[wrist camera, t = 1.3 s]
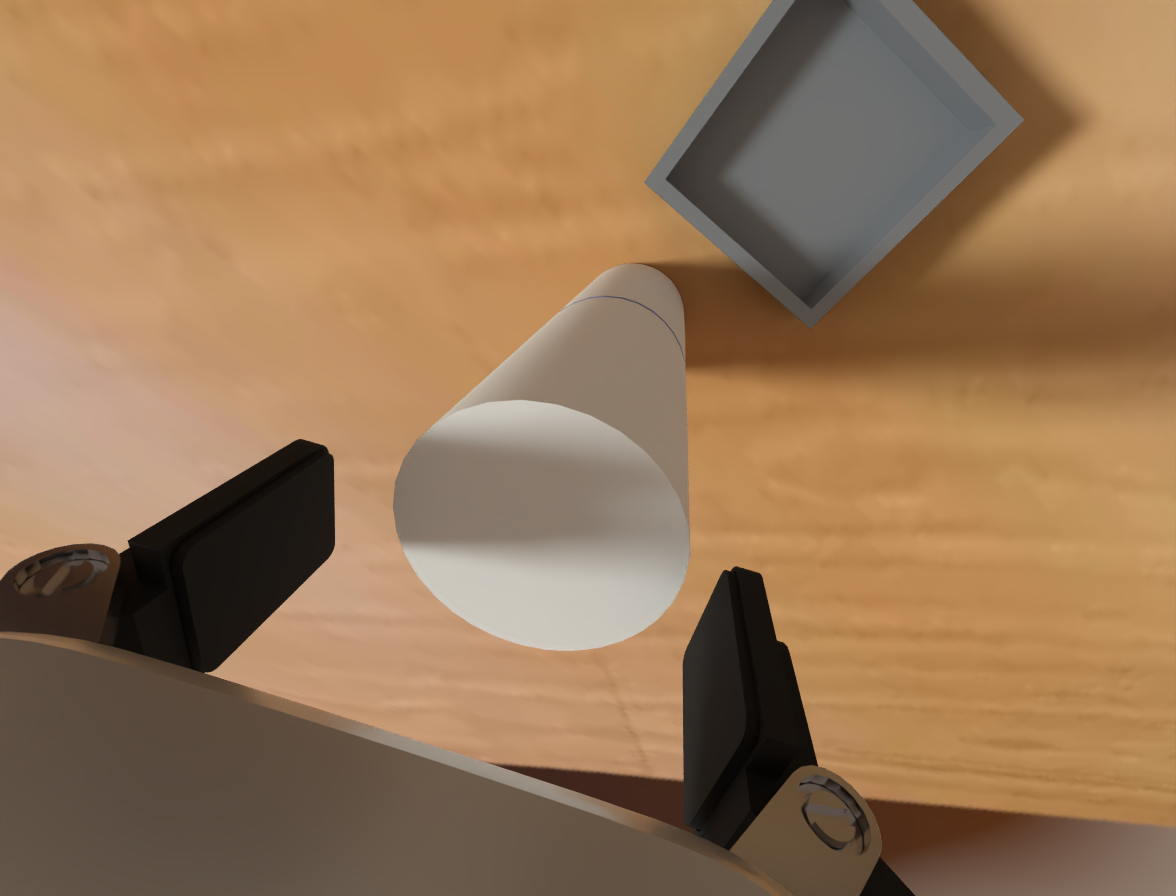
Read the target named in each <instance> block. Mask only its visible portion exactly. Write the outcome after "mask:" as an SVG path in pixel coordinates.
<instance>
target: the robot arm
mask: <svg viewBox="0 0 1176 896" xmlns="http://www.w3.org/2000/svg"><path fill="white" fill-rule="evenodd" d="M128 543H129V547H130V548H128V549H127V550H125V551H123V552H122V553H120V554H118V553H117V551H116V550H115V549H113V548H110V547H108V546H105V545H99V544H91V543H89V544H73V545H67V546H62V547H57V548H53V549H50V550H47V551H44V552H41V553H38V554H36V555H34V556H32V557H29V558H27V559H25V560H23V561H21V562H20V563H18V564H17V565H16V566H14V567H13V568H11V569H10V570H9V571H8V572H7V573H6V574H5V575H4V577H3V578H2V579H1V580H0V896H915V895H914V894H913V893H912V892H911V891H910V889H909V888H908V887H907V886H906V885H905V884H904V883H903V882H902V881H901V880H900V878H899V877H898V876H897V875H896V874H895V873H894V872H893V871H892V870H891V869H890V868H889V866H888V865H887V864H886V863H885V862H884V861H883V860H882V859H881V858H880V857H879V855H880V851H881V847H882V845H881V837H880V830H879V828H878V825H877V823H876V820H875V817H874V815H873V813H872V812H871V810H870V809H869V807H868V805H867V804H866V802H865V801H864V799H863V798H862V797H861V796H860V795H859V793H858V792H857V791H856V790H855V789H854V788H853V787H852V786H851V785H850V784H849V783H848V782H846V781H845V780H844V779H843V778H841V777H840V776H839V775H837V774H835V773H833V772H831V771H829V770H827V769H826V768H822V767H818V764H817V760H816V756H815V752H814V748H813V744H812V740H811V736H810V732H809V728H808V724H807V720H806V716H805V712H804V708H803V704H802V700H801V696H800V692H799V688H798V684H797V680H796V676H795V672H794V668H793V664H792V660H791V656H790V653H789V650H788V647H787V646H786V645H785V644H784V643H783V642H780V641H777V639H776V635H775V630H774V626H773V622H772V617H771V613H770V608H769V604H768V600H767V595H766V591H765V587H764V582H763V578H762V575H761V574H760V573H757V572H754V571H750V570H747V569H744V568H740V567H737V566H736V567H734V568H733V569H732V570H731V571H727V570H724V571H723V572H722V574H721V576H720V578H719V580H718V582H717V585H716V587H715V589H714V591H713V593H712V595H711V597H710V600H709V602H708V604H707V606H706V608H705V610H704V612H703V614H702V617H701V619H700V621H699V623H698V625H697V627H696V629H695V632H694V634H693V636H692V638H691V640H690V642H689V644H688V646H687V649H686V651H685V655H684V659H683V753H684V820H685V824H686V825H687V826H689V827H692V828H693V834H691V833H689V832H686V831H684V830H682V829H679V828H677V827H674V826H672V825H669V824H667V823H664V822H661V821H658V820H656V819H653V818H650V817H647V816H644V815H641V814H638V813H635V812H632V811H630V810H627V809H624V808H621V807H618V806H615V805H612V804H609V803H606V802H604V801H601V800H598V799H595V798H592V797H589V796H586V795H583V794H580V793H577V792H574V791H571V790H568V789H565V788H562V787H559V786H556V785H553V784H550V783H547V782H544V781H541V780H537V779H534V778H531V777H528V776H525V775H522V774H519V773H516V772H513V771H510V770H507V769H503V768H501V767H498V766H494V765H491V764H488V763H485V762H482V761H479V760H476V759H473V758H470V757H467V756H464V755H461V754H458V753H454V752H451V751H448V750H445V749H442V748H439V747H436V746H433V745H429V744H426V743H423V742H420V741H417V740H414V739H411V738H408V737H404V736H401V735H398V734H395V733H392V732H389V731H386V730H383V729H379V728H376V727H373V726H370V725H367V724H364V723H361V722H357V721H354V720H351V719H348V718H345V717H342V716H339V715H335V714H332V713H329V712H326V711H323V710H320V709H317V708H313V707H310V706H307V705H304V704H301V703H297V702H294V701H291V700H288V699H285V698H282V697H278V696H275V695H272V694H269V693H266V692H262V691H259V690H256V689H253V688H250V687H246V686H243V685H240V684H237V683H234V682H230V681H227V680H224V679H221V678H218V677H214V676H211V675H208V674H205V672H207V673H208V672H212V671H214V670H215V669H216V668H218V667H219V666H220V665H221V664H222V663H223V662H224V661H225V660H226V659H227V658H228V657H229V656H230V655H231V654H232V653H233V652H234V651H235V650H236V649H237V648H238V647H239V646H240V645H241V644H242V643H243V642H244V641H245V640H246V639H247V638H248V637H249V636H250V635H251V634H252V633H253V632H254V631H255V630H256V629H257V628H258V627H259V626H260V625H261V624H262V623H263V622H264V621H265V620H266V619H267V618H268V617H269V616H270V615H271V614H272V613H273V612H274V611H275V610H276V609H278V608H279V607H280V606H281V605H282V604H283V603H284V602H285V601H286V600H287V599H288V598H289V597H290V596H291V595H292V594H293V593H294V592H295V591H296V590H297V589H298V588H299V587H300V586H301V585H302V584H303V583H304V582H305V581H306V580H307V579H308V578H309V577H310V576H311V575H312V574H313V573H314V572H315V571H316V570H317V569H318V568H319V567H320V566H321V565H322V564H323V563H324V562H325V561H326V560H327V559H328V558H329V557H330V555H331V554H332V552H333V549H334V546H335V508H334V459H333V456H332V455H331V454H329V452H328V449H327V447H325V446H323V445H320V444H317V443H313V442H310V441H306V440H303V439H298V440H296V441H294V442H292V443H291V444H289V445H287V446H286V447H284V448H282V449H281V450H279V451H277V452H276V453H274V454H272V455H270V456H269V457H267V458H265V459H264V460H262V461H260V462H259V463H257V464H255V465H254V466H252V467H250V468H249V469H247V470H245V471H244V472H242V473H240V474H239V475H237V476H235V477H234V478H232V479H230V480H229V481H227V482H225V483H224V484H222V485H220V486H219V487H217V488H215V489H214V490H212V491H210V492H208V493H207V494H205V495H203V496H202V497H200V498H198V499H197V500H195V501H193V502H192V503H190V504H188V505H187V506H185V507H183V508H182V509H180V510H178V511H177V512H175V513H173V514H172V515H170V516H168V517H167V518H165V519H163V520H162V521H160V522H158V523H157V524H155V525H153V526H152V527H150V528H148V529H146V530H145V531H143V532H141V533H140V534H138V535H136V536H135V537H133V538H131V539H130V540H128Z"/></svg>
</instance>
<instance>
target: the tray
mask: <svg viewBox="0 0 1176 896" xmlns="http://www.w3.org/2000/svg"><path fill="white" fill-rule="evenodd" d="M1023 121H1024V119H1023V118H1022V117H1021V116H1020V115H1019V114H1018V113H1017V112H1016V110H1015V109H1014V108H1013V107H1012V106H1011V105H1010V104H1009V103H1008V102H1007V101H1006V100H1005V99H1004V98H1003V97H1002V96H1001V94H1000V93H999V92H998V91H997V90H996V89H995V88H994V87H993V86H992V85H991V84H990V83H989V82H988V81H987V80H986V78H985V77H984V76H983V75H982V74H981V73H980V72H979V71H978V70H977V69H976V68H975V67H974V66H973V65H972V64H971V62H970V61H969V60H968V59H967V58H966V57H965V56H964V55H963V54H962V53H961V52H960V51H959V50H958V49H957V47H956V46H955V45H954V44H953V43H952V42H951V41H950V40H949V39H948V38H947V37H946V36H945V35H944V34H943V33H942V31H941V30H940V29H939V28H938V27H937V26H936V25H935V24H934V23H933V22H932V21H931V20H930V19H929V18H928V17H927V15H926V14H925V13H924V12H923V11H922V10H921V9H920V8H919V7H918V6H917V5H916V4H915V3H914V2H913V0H773V1H772V3H771V4H770V5H769V7H768V8H767V10H766V11H765V12H764V14H763V15H762V17H761V18H760V20H759V21H758V22H757V24H756V25H755V27H754V28H753V29H752V31H751V32H750V34H749V35H748V36H747V38H746V39H745V41H744V42H743V44H742V45H741V46H740V48H739V49H738V51H737V52H736V53H735V55H734V56H733V58H732V59H731V61H730V62H729V63H728V65H727V66H726V68H725V69H724V70H723V72H722V73H721V75H720V76H719V78H718V79H717V80H716V82H715V83H714V85H713V86H712V87H711V89H710V90H709V92H708V93H707V94H706V96H705V97H704V99H703V100H702V102H701V103H700V104H699V106H698V107H697V109H696V110H695V111H694V113H693V114H692V116H691V117H690V119H689V120H688V121H687V123H686V124H685V126H684V127H683V128H682V130H681V131H680V133H679V134H678V136H677V137H676V138H675V140H674V141H673V143H672V144H671V145H670V147H669V148H668V150H667V151H666V152H665V154H664V155H663V157H662V158H661V160H660V161H659V162H658V164H657V165H656V167H655V168H654V169H653V171H652V172H651V174H650V175H649V177H648V178H647V179H646V181H645V182H644V183H645V184H646V185H647V186H649V187H650V188H651V189H652V190H653V191H654V192H655V193H657V194H658V195H659V196H660V197H661V198H662V199H663V200H664V201H666V202H667V203H668V204H669V205H670V206H671V207H672V208H674V209H675V210H676V211H677V212H678V213H679V214H680V215H682V216H683V217H684V218H685V219H686V220H687V221H688V222H689V223H691V224H692V225H693V226H694V227H695V228H696V229H697V230H699V231H700V232H701V233H702V234H703V235H704V236H705V237H706V238H708V239H709V240H710V241H711V242H712V243H713V244H714V245H716V246H717V247H718V248H719V249H720V250H721V251H722V252H723V253H725V254H726V255H727V256H728V257H729V258H730V259H731V260H733V261H734V262H735V263H736V264H737V265H738V266H739V267H740V268H742V269H743V270H744V271H745V272H746V273H747V274H748V275H750V276H751V277H752V278H753V279H754V280H755V281H756V282H758V283H759V284H760V285H761V286H762V287H763V288H764V289H765V290H767V291H768V292H769V293H770V294H771V295H772V296H773V297H775V298H776V299H777V300H778V301H779V302H780V303H781V304H782V305H784V306H785V307H786V308H787V309H788V310H789V311H790V312H792V313H793V314H794V315H795V316H796V317H797V318H798V319H799V320H801V321H802V322H803V323H804V324H805V325H806V326H807V327H809V328H810V329H811V328H812V327H813V326H814V325H815V324H816V323H817V322H818V321H819V320H820V319H821V318H822V317H823V316H824V315H825V314H826V313H827V312H828V311H829V310H830V309H831V308H832V307H833V306H834V305H835V304H836V303H838V302H839V301H840V300H841V299H842V298H843V297H844V296H845V295H846V294H847V293H848V292H849V291H850V290H851V289H852V288H853V287H854V286H855V285H856V284H857V283H858V282H859V281H860V280H861V279H862V278H863V277H864V276H865V275H866V274H867V273H868V272H869V271H870V270H871V269H872V268H873V267H874V266H875V265H876V264H877V263H879V262H880V261H881V260H882V259H883V258H884V257H885V256H886V255H887V254H888V253H889V252H890V251H891V250H892V249H893V248H894V247H895V246H896V245H897V244H898V243H899V242H900V241H901V240H902V239H903V238H904V237H905V236H906V235H907V234H908V233H909V232H910V231H911V230H912V229H913V228H914V227H915V226H916V225H917V224H918V223H920V222H921V221H922V220H923V219H924V218H925V217H926V216H927V215H928V214H929V213H930V212H931V211H932V210H933V209H934V208H935V207H936V206H937V205H938V204H939V203H940V202H941V201H942V200H943V199H944V198H945V197H946V196H947V195H948V194H949V193H950V192H951V191H952V190H953V189H954V188H955V187H956V186H957V185H958V184H959V183H961V182H962V181H963V180H964V179H965V178H966V177H967V176H968V175H969V174H970V173H971V172H972V171H973V170H974V169H975V168H976V167H977V166H978V165H979V164H980V163H981V162H982V161H983V160H984V159H985V158H986V157H987V156H988V155H989V154H990V153H991V152H992V151H993V150H994V149H995V148H996V147H997V146H998V145H999V144H1000V143H1002V142H1003V141H1004V140H1005V139H1006V138H1007V137H1008V136H1009V135H1010V134H1011V133H1012V132H1013V131H1014V130H1015V129H1016V128H1017V127H1018V126H1019V125H1020V124H1021V123H1022V122H1023Z"/></svg>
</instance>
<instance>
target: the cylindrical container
mask: <svg viewBox="0 0 1176 896" xmlns="http://www.w3.org/2000/svg"><path fill="white" fill-rule="evenodd" d="M393 510H394V517H395V525H396V531H397V534H398V537H399V539H400V542H401V545H402V548H403V550H404V553H405V555H406V557H407V559H408V560H409V562H410V564H411V565H412V567H413V569H414V570H415V572H416V574H417V575H418V577H419V578H420V579H421V580H422V582H423V583H424V584H425V585H426V586H427V588H428V589H429V590H430V591H431V592H432V593H433V595H434V596H435V597H437V598H438V599H439V600H440V601H441V602H442V603H443V604H444V605H446V606H447V607H448V608H449V609H450V610H451V611H452V612H454V613H455V614H457V615H458V616H460V617H461V618H463V619H464V620H466V621H467V622H469V623H470V624H472V625H474V626H476V627H478V628H480V629H482V630H484V631H486V632H488V633H490V634H492V635H494V636H496V637H499V638H502V639H505V640H508V641H511V642H514V643H516V644H519V645H524V646H530V647H535V648H540V649H545V650H565V651H576V650H585V649H593V648H600V647H603V646H607V645H610V644H614V643H617V642H621V641H623V640H625V639H627V638H629V637H631V636H633V635H635V634H637V633H639V632H641V631H643V630H644V629H645V628H647V627H648V626H649V625H651V624H652V623H653V622H655V621H656V620H657V619H659V618H660V616H661V615H662V614H663V613H664V612H665V611H666V610H667V608H668V607H669V606H670V605H671V604H672V603H673V601H674V600H675V598H676V596H677V594H678V592H679V590H680V588H681V586H682V584H683V582H684V580H685V576H686V571H687V567H688V562H689V557H690V528H689V481H688V434H687V400H686V359H685V320H684V306H683V302H682V299H681V296H680V294H679V292H678V290H677V288H676V286H675V285H674V284H673V282H672V281H671V280H670V279H669V278H668V277H667V276H666V275H664V274H663V273H662V272H660V271H658V270H657V269H655V268H653V267H650V266H647V265H644V264H635V263H630V264H622V265H618V266H615V267H613V268H610V269H608V270H607V271H605V272H603V273H602V274H600V275H599V276H598V277H597V278H596V279H595V280H594V281H593V282H592V283H591V284H589V285H588V286H587V287H586V288H585V289H584V290H583V291H582V292H581V293H579V294H578V295H577V296H576V297H575V298H574V299H573V300H572V301H571V302H569V303H568V304H567V305H566V306H565V307H564V308H563V309H562V310H561V311H559V312H558V313H557V314H556V315H555V316H554V317H553V318H552V319H551V320H549V321H548V322H547V323H546V324H545V325H544V326H543V327H542V328H541V329H539V330H538V331H537V332H536V333H535V334H534V335H533V336H532V337H531V338H529V339H528V340H527V341H526V342H525V343H524V344H523V345H522V346H521V347H520V348H518V349H517V350H516V351H515V352H514V353H513V354H512V355H511V356H510V357H508V358H507V359H506V360H505V361H504V362H503V363H502V364H501V365H500V366H498V367H497V368H496V369H495V370H494V371H493V372H492V373H491V374H490V375H489V376H487V377H486V378H485V379H484V380H483V381H482V382H481V383H480V384H479V385H477V386H476V387H475V388H474V389H473V390H472V391H471V392H470V393H469V394H467V395H466V396H465V397H464V398H463V399H462V400H461V401H460V402H459V403H457V404H456V405H455V406H454V407H453V408H452V409H451V410H450V411H448V412H447V413H446V414H445V415H444V416H443V417H442V418H441V419H440V420H438V421H437V422H436V423H435V424H434V425H433V426H432V427H431V428H430V429H429V430H427V431H426V432H425V433H424V434H423V435H422V436H421V437H420V438H419V439H418V440H416V442H415V443H414V445H413V446H412V448H411V449H410V451H409V452H408V454H407V455H406V457H405V458H404V460H403V462H402V465H401V468H400V471H399V473H398V476H397V479H396V482H395V491H394V501H393Z"/></svg>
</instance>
